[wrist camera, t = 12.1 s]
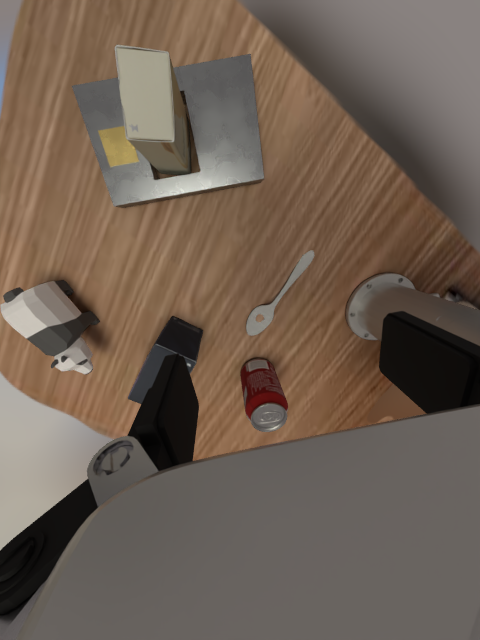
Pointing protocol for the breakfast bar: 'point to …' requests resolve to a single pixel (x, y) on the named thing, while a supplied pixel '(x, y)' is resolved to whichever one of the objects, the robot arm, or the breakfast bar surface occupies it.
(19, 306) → the giant panda
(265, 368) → the soda can
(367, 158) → the breakfast bar surface
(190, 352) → the small box
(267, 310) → the spoon
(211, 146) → the grey slotted base block
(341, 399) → the breakfast bar surface
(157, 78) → the skincare box
